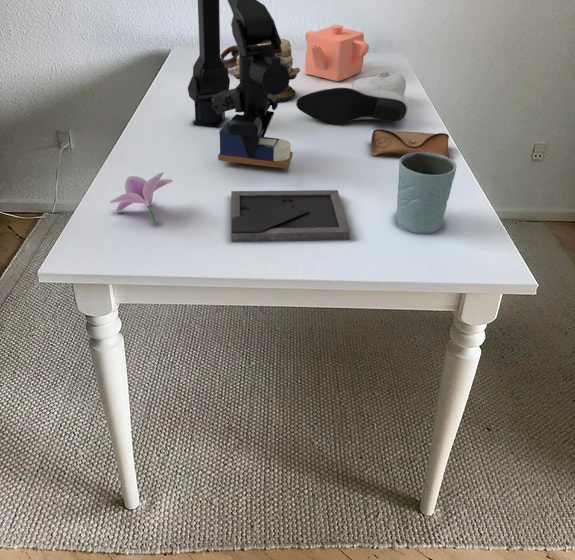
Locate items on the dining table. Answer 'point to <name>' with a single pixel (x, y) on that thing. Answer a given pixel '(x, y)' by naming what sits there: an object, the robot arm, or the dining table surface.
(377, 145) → the sunglasses case
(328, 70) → the teapot
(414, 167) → the green embossed cup
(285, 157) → the toy high-top shoe
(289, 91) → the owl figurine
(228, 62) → the pottery mug
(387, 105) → the cowboy boot
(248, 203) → the picture frame
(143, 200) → the lily
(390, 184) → the dining table surface
